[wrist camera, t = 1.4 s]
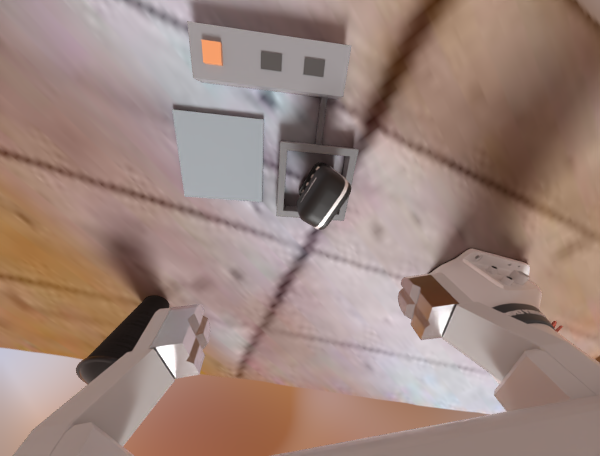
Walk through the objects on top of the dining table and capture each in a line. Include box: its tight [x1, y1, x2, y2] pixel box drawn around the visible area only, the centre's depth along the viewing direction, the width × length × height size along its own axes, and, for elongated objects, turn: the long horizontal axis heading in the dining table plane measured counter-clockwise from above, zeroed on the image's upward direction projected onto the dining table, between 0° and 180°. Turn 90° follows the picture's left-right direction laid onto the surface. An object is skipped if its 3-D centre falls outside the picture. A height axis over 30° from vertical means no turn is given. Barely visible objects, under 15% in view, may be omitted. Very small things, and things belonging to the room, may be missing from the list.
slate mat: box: [172, 109, 264, 202], centre depth 31 cm, size 12×12×1 cm
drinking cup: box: [76, 296, 169, 384], centre depth 34 cm, size 8×8×20 cm
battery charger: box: [297, 163, 351, 230], centre depth 29 cm, size 7×4×11 cm, turn 148°
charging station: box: [187, 21, 358, 221], centre depth 29 cm, size 22×22×4 cm
